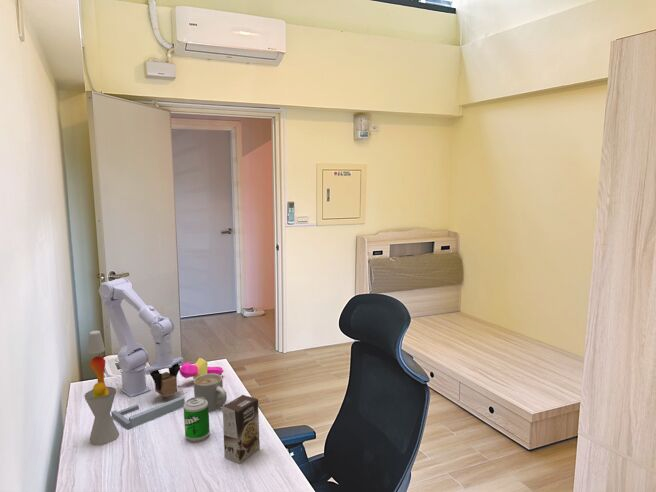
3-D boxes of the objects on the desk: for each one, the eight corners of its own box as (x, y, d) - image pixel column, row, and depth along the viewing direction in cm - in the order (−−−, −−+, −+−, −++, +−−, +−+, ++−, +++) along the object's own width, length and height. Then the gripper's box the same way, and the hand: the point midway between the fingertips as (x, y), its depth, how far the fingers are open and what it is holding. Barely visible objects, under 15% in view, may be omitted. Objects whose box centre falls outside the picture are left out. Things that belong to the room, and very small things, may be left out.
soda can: (202, 427, 156) (200, 393, 154) (214, 436, 151) (212, 401, 149) (180, 436, 151) (178, 401, 149) (192, 446, 146) (190, 409, 144)
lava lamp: (90, 433, 154) (80, 329, 148) (120, 427, 157) (111, 325, 151) (87, 447, 145) (76, 338, 140) (119, 441, 148) (109, 334, 143)
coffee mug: (190, 405, 171) (188, 379, 169) (214, 396, 178) (213, 371, 176) (209, 418, 162) (207, 391, 160) (234, 408, 168) (232, 382, 167)
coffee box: (240, 464, 136) (237, 411, 134) (223, 457, 140) (221, 406, 137) (260, 448, 144) (259, 398, 141) (244, 442, 147) (242, 393, 145)
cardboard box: (155, 391, 177) (154, 373, 176) (167, 386, 181) (166, 369, 180) (164, 397, 173) (163, 379, 172) (177, 392, 176) (176, 374, 175)
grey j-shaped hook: (111, 417, 163) (111, 409, 163) (167, 395, 179) (167, 388, 178) (127, 429, 155) (126, 420, 155) (184, 406, 171) (184, 398, 170)
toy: (226, 383, 191) (227, 357, 194) (183, 382, 180) (185, 354, 183) (214, 385, 198) (215, 360, 201) (173, 385, 187) (174, 358, 191)
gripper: (150, 360, 167) (152, 396, 169) (187, 349, 177) (188, 383, 179) (140, 355, 171) (143, 390, 173) (177, 344, 182) (179, 377, 184)
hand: (165, 386), depth 177 cm, fingers closed on cardboard box, 5 cm apart
